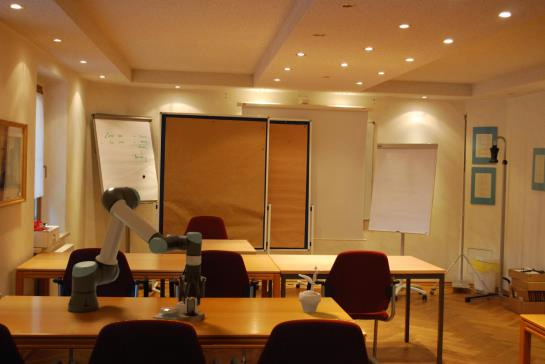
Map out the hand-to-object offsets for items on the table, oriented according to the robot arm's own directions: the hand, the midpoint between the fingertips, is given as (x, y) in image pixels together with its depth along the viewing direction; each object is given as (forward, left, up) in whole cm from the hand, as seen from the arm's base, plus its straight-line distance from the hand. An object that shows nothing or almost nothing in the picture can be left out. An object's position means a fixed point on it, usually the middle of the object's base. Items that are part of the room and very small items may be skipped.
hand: (191, 311), depth 273 cm
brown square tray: (0, 0, -4) cm, 4 cm away
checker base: (-12, +1, -4) cm, 13 cm away
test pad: (-12, +1, -2) cm, 12 cm away
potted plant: (+53, +34, -4) cm, 63 cm away
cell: (0, 0, -2) cm, 2 cm away
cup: (-6, +5, -4) cm, 9 cm away
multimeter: (-8, +18, -4) cm, 20 cm away
